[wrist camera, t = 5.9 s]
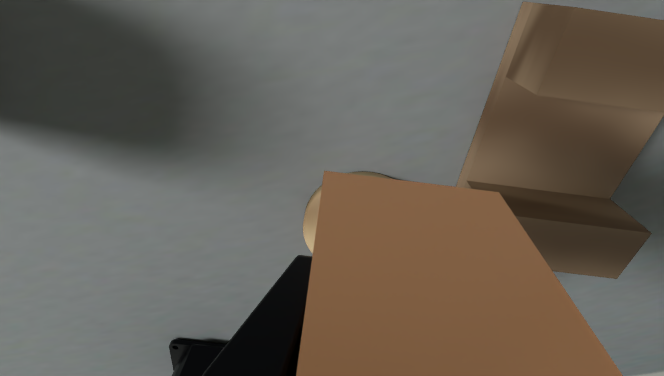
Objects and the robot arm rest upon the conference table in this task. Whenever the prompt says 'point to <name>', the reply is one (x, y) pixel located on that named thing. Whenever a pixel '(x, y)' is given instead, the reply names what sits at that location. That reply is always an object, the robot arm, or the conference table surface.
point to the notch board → (571, 131)
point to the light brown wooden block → (435, 288)
